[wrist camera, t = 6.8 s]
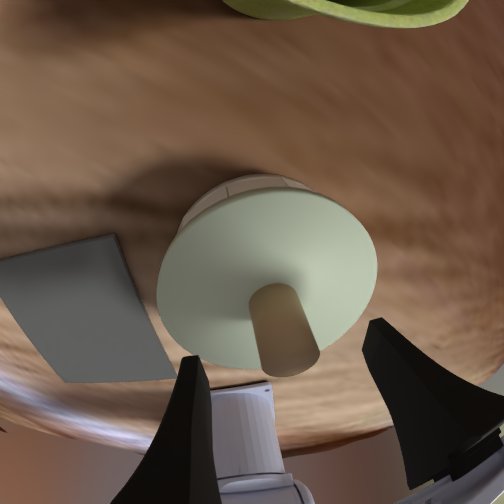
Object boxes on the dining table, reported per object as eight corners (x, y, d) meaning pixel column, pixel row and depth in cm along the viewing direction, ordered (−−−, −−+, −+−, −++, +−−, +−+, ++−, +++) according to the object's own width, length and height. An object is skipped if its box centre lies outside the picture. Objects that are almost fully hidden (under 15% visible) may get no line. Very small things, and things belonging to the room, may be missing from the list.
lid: (349, 342, 18) (373, 394, 15) (182, 366, 17) (182, 427, 13) (387, 182, 12) (446, 227, 9) (134, 201, 11) (106, 261, 7)
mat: (177, 374, 23) (176, 378, 23) (65, 379, 22) (64, 382, 22) (115, 233, 15) (113, 236, 15) (-14, 263, 15) (-17, 266, 14)
